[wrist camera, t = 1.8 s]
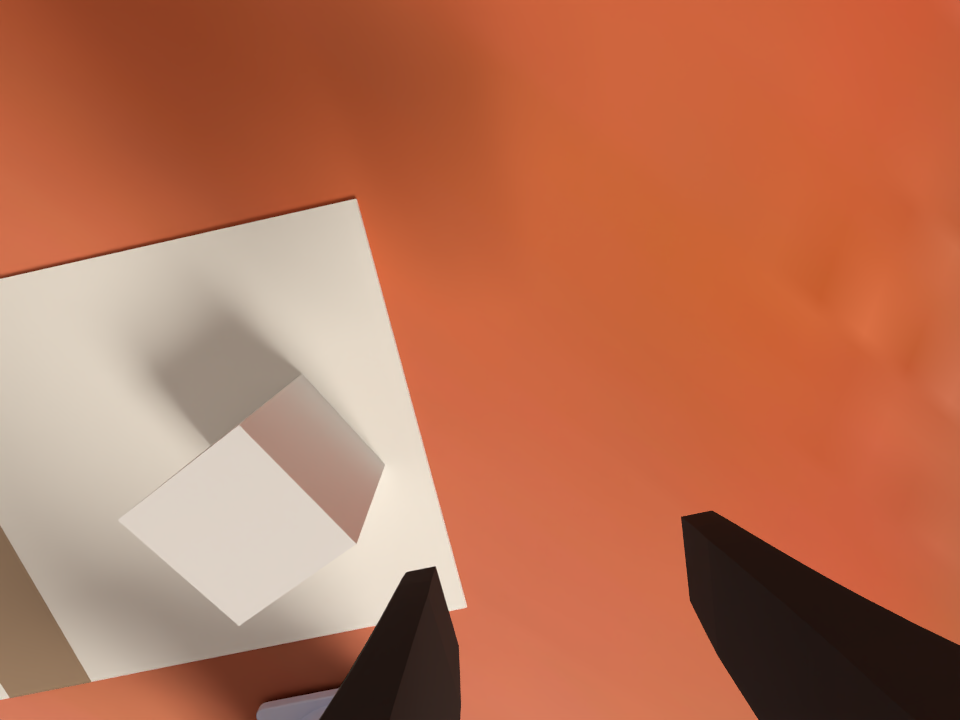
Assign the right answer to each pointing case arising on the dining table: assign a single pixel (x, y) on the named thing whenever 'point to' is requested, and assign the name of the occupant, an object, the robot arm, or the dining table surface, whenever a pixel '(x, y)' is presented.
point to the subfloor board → (190, 440)
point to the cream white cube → (263, 503)
